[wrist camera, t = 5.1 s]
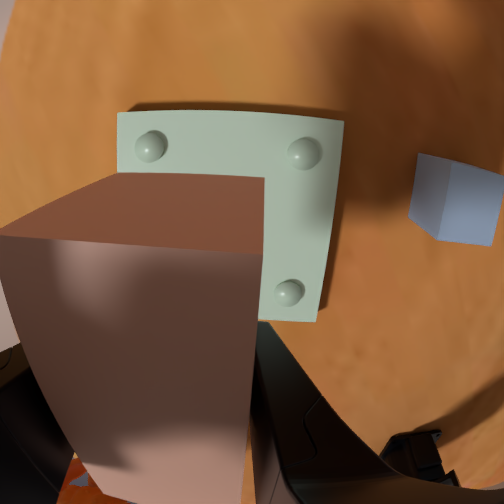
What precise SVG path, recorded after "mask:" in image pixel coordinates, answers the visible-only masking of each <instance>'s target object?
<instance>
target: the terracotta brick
mask: <svg viewBox="0 0 504 504" xmlns="http://www.w3.org/2000/svg"><path fill="white" fill-rule="evenodd" d="M264 190H265V177H251V176H234V175H215V174H190V173H138V172H120V173H116V174H113V175H111V176H109V177H106V178H104V179H101V180H99V181H97V182H94V183H92V184H90V185H87V186H85V187H83V188H81V189H78V190H76V191H74V192H72V193H70V194H68V195H65V196H63V197H61V198H59V199H57V200H55V201H53V202H51V203H49V204H47V205H45V206H43V207H41V208H39V209H37V210H35V211H33V212H31V213H29V214H27V215H25V216H23V217H21V218H19V219H17V220H15V221H14V222H12V223H10V224H8V225H6V226H4V227H3V228H1V229H0V280H1V283H2V287H3V291H4V294H5V297H6V301H7V304H8V307H9V310H10V314H11V317H12V320H13V323H14V325H15V328H16V331H17V334H18V337H19V339H20V342H21V345H22V347H23V350H24V352H25V355H26V357H27V360H28V362H29V364H30V367H31V369H32V371H33V374H34V376H35V378H36V380H37V382H38V385H39V387H40V389H41V391H42V393H43V395H44V397H45V399H46V401H47V403H48V405H49V407H50V409H51V411H52V413H53V415H54V417H55V418H56V420H57V422H58V424H59V426H60V427H61V429H62V431H63V433H64V434H65V436H66V438H67V440H68V441H69V443H70V445H71V446H72V448H73V449H74V451H75V453H76V454H77V456H78V457H79V459H80V461H81V462H82V464H83V465H84V467H85V468H86V470H87V471H88V473H89V474H90V475H91V477H92V478H93V480H94V481H95V483H96V484H97V485H98V487H99V488H100V489H101V491H102V492H103V494H106V495H109V496H113V497H116V498H120V499H123V500H127V501H131V502H135V503H139V504H240V502H241V493H242V483H243V473H244V463H245V453H246V443H247V433H248V422H249V412H250V401H251V390H252V379H253V368H254V357H255V346H256V335H257V323H258V312H259V300H260V288H261V276H262V264H263V244H264Z"/></svg>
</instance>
